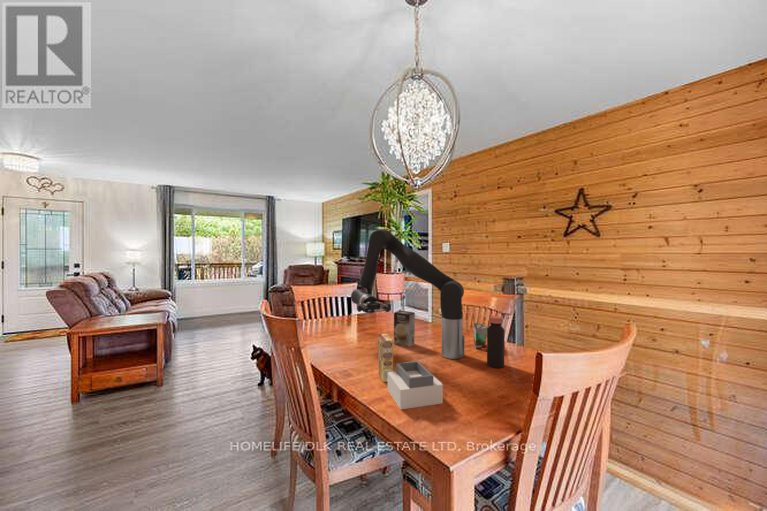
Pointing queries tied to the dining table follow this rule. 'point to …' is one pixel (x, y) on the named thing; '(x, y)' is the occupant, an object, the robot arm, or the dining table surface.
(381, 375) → the candy box
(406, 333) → the coffee box
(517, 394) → the dining table surface
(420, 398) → the stand
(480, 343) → the food container
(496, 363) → the bottle
